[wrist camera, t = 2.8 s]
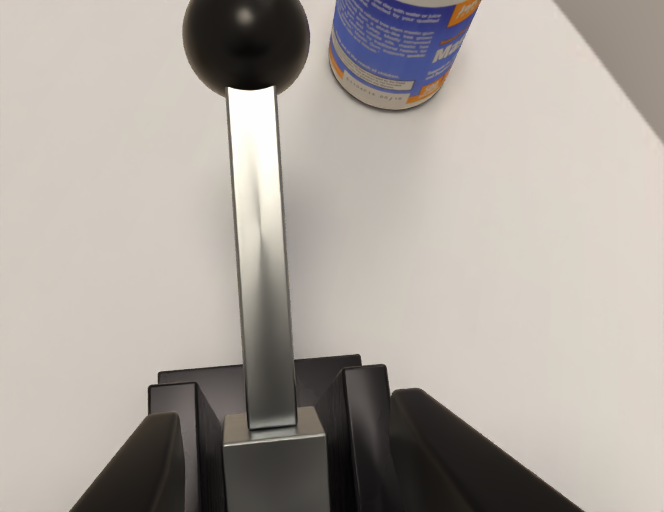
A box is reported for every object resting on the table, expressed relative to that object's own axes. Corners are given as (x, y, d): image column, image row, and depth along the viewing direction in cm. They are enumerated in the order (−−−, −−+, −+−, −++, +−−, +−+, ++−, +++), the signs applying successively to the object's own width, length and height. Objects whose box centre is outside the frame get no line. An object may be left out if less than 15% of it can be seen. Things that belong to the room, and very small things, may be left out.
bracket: (162, 377, 22) (97, 303, 13) (355, 359, 23) (419, 279, 14) (167, 632, 20) (90, 758, 11) (385, 600, 21) (485, 691, 12)
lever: (184, -1, 15) (171, -57, 12) (299, -2, 16) (312, -57, 13) (219, 527, 15) (214, 587, 13) (332, 513, 16) (352, 569, 13)
